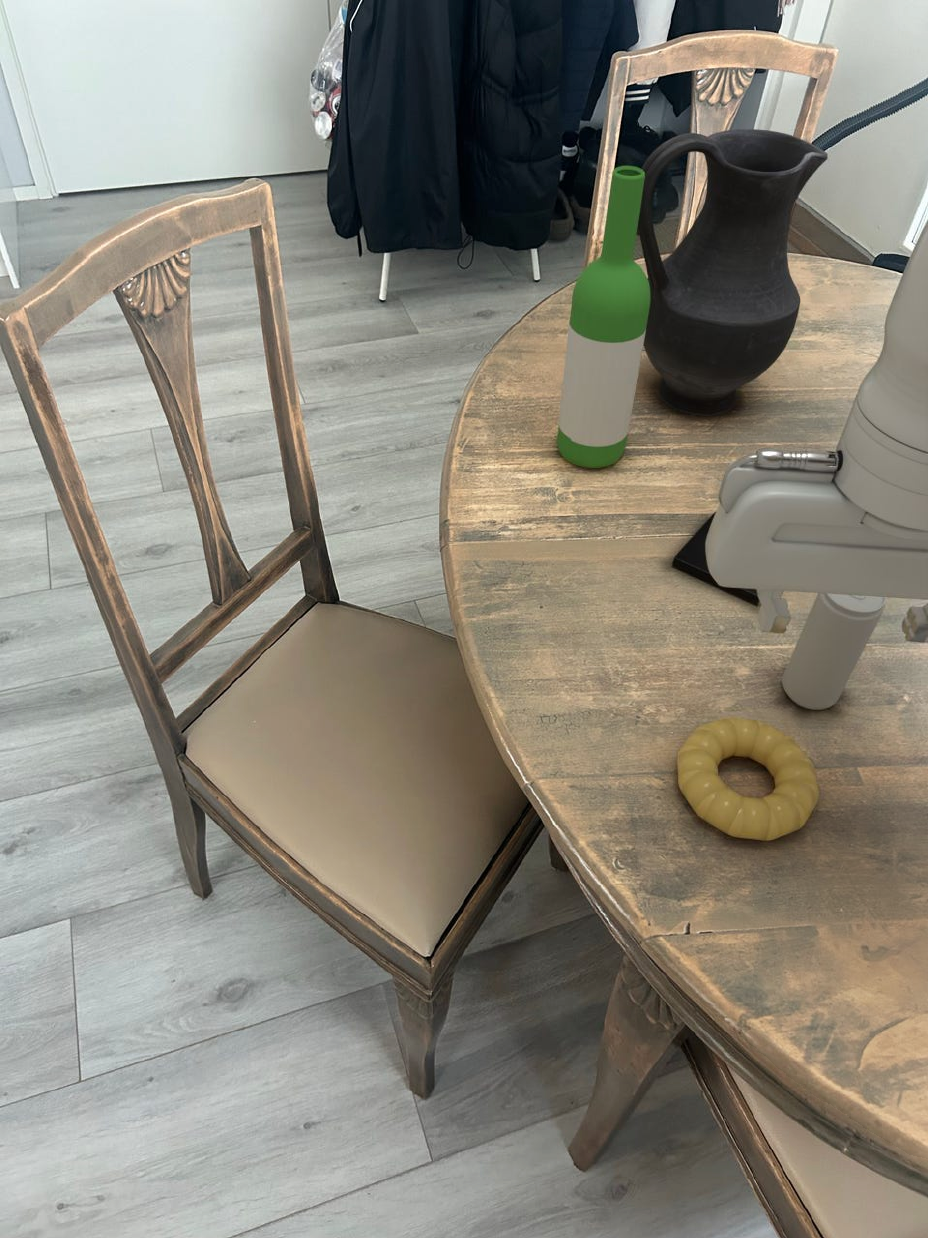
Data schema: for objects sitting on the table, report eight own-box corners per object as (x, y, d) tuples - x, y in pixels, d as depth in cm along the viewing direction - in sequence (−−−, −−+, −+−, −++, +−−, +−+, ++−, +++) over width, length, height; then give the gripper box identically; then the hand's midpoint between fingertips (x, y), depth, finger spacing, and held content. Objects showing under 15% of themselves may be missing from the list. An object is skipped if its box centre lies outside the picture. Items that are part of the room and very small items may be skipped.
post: (794, 555, 87) (816, 498, 82) (756, 606, 82) (777, 548, 77) (712, 520, 91) (728, 463, 86) (671, 566, 86) (685, 508, 81)
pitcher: (795, 422, 104) (885, 150, 82) (634, 449, 100) (685, 169, 78) (725, 351, 115) (788, 95, 94) (578, 373, 111) (609, 110, 90)
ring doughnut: (831, 777, 69) (843, 755, 67) (777, 873, 63) (789, 852, 61) (710, 713, 73) (718, 690, 71) (650, 797, 68) (657, 775, 65)
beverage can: (825, 722, 73) (875, 623, 64) (770, 695, 75) (812, 594, 66) (845, 687, 76) (897, 587, 67) (792, 661, 78) (836, 560, 69)
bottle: (596, 425, 103) (636, 150, 82) (638, 459, 98) (691, 177, 77) (542, 444, 100) (567, 164, 79) (582, 480, 96) (621, 193, 74)
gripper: (739, 481, 47) (688, 655, 56) (1137, 504, 45) (1015, 677, 55) (724, 416, 51) (680, 588, 61) (1087, 435, 50) (982, 607, 60)
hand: (842, 630), depth 58 cm, fingers open, 8 cm apart
